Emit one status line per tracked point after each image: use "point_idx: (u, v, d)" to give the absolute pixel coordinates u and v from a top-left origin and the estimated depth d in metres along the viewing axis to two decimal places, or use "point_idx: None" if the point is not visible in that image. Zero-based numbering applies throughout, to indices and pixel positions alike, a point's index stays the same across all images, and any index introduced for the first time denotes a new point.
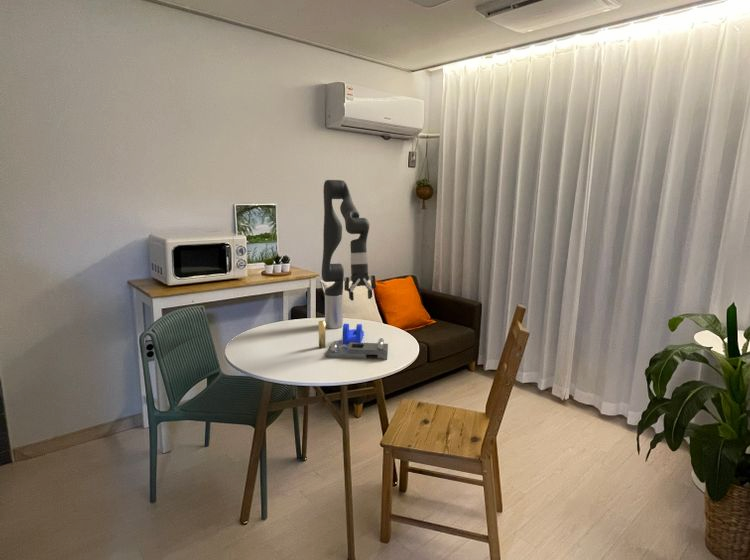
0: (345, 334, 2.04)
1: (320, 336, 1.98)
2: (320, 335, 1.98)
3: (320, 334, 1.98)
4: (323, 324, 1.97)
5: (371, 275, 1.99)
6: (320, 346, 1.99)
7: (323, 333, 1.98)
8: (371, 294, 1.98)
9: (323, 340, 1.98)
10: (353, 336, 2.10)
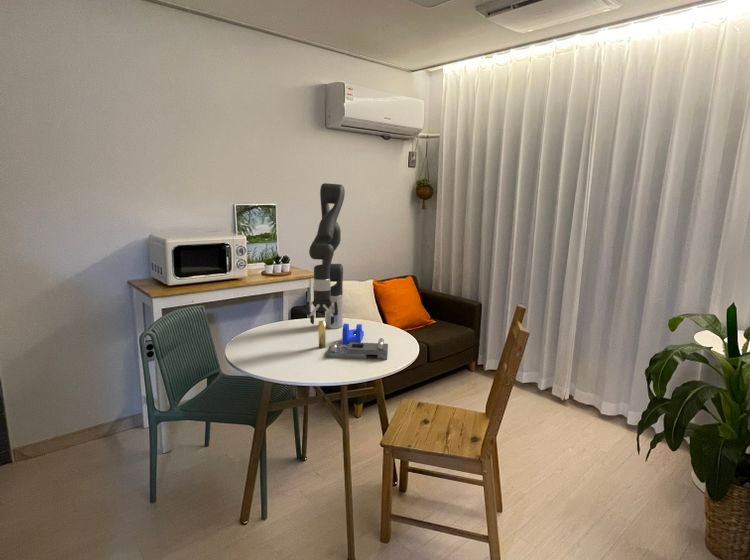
0: (345, 334, 2.04)
1: (320, 336, 1.98)
2: (320, 335, 1.98)
3: (320, 334, 1.98)
4: (323, 324, 1.97)
5: (335, 301, 1.96)
6: (320, 346, 1.99)
7: (323, 333, 1.98)
8: (333, 320, 1.97)
9: (323, 340, 1.98)
10: (353, 336, 2.10)
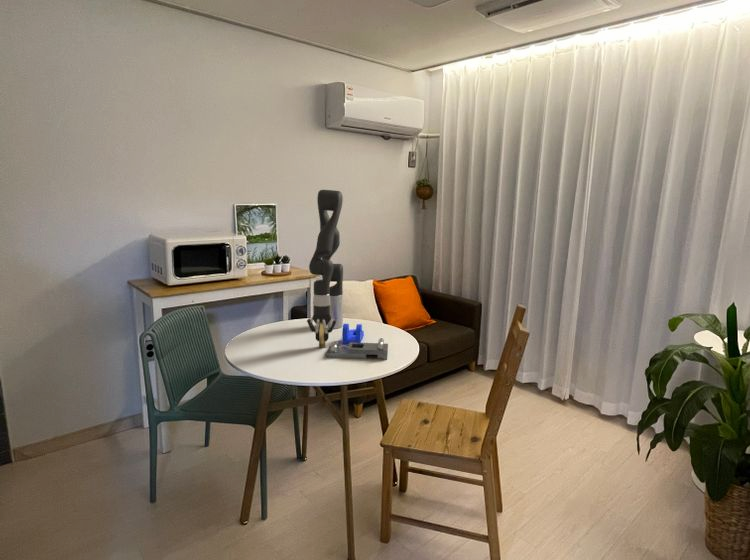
0: (345, 334, 2.03)
1: (320, 336, 1.98)
2: (320, 335, 1.98)
3: (320, 334, 1.98)
4: None
5: (335, 319, 1.98)
6: (320, 346, 1.99)
7: (323, 333, 1.98)
8: (327, 337, 1.98)
9: (323, 340, 1.98)
10: (353, 336, 2.10)
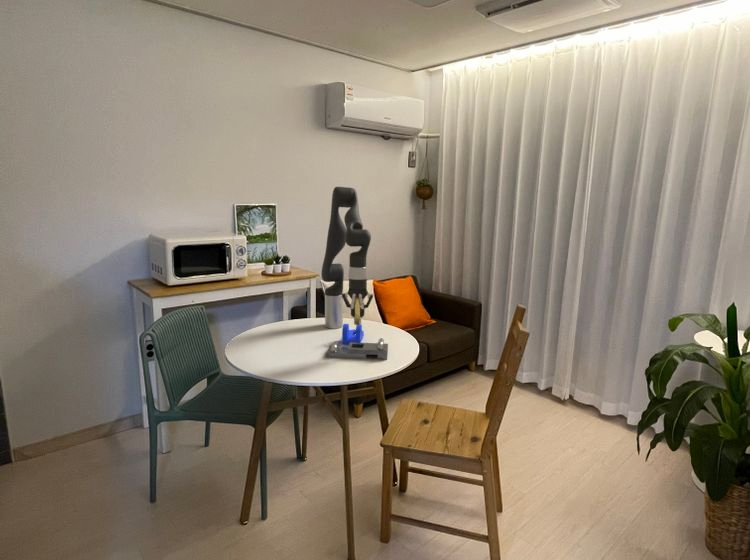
0: (345, 334, 2.03)
1: (356, 311, 1.86)
2: (356, 311, 1.86)
3: (356, 310, 1.86)
4: (359, 299, 1.85)
5: (371, 294, 1.86)
6: (355, 323, 1.87)
7: (359, 309, 1.86)
8: (363, 313, 1.87)
9: (359, 316, 1.87)
10: (353, 336, 2.10)
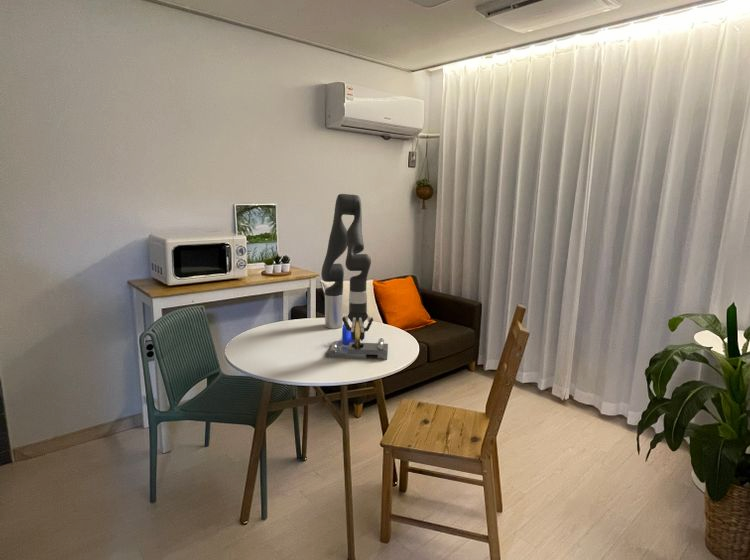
0: (345, 334, 2.03)
1: (356, 335, 1.88)
2: (356, 334, 1.88)
3: (356, 333, 1.88)
4: (359, 322, 1.87)
5: (371, 317, 1.88)
6: (355, 346, 1.89)
7: (359, 332, 1.88)
8: (363, 336, 1.89)
9: (359, 339, 1.88)
10: None
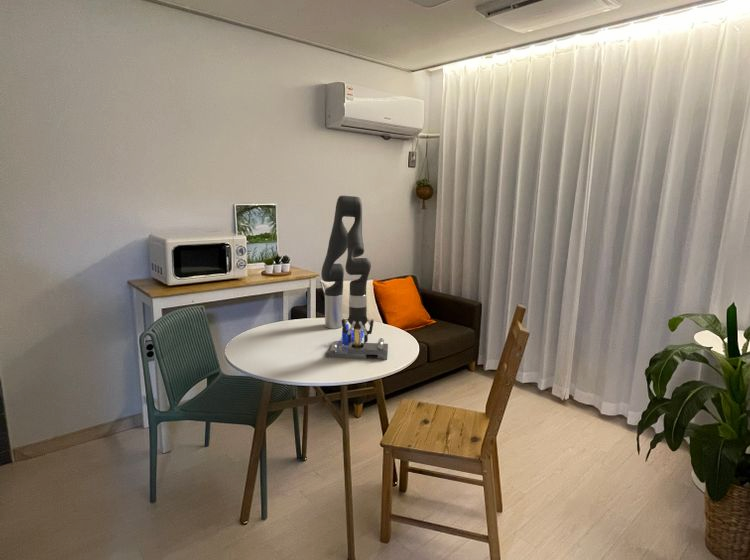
0: (345, 334, 2.03)
1: (356, 343, 1.89)
2: (355, 342, 1.89)
3: (355, 341, 1.89)
4: (358, 330, 1.88)
5: (372, 319, 1.88)
6: None
7: (358, 340, 1.89)
8: (366, 339, 1.89)
9: (359, 347, 1.89)
10: (353, 336, 2.09)
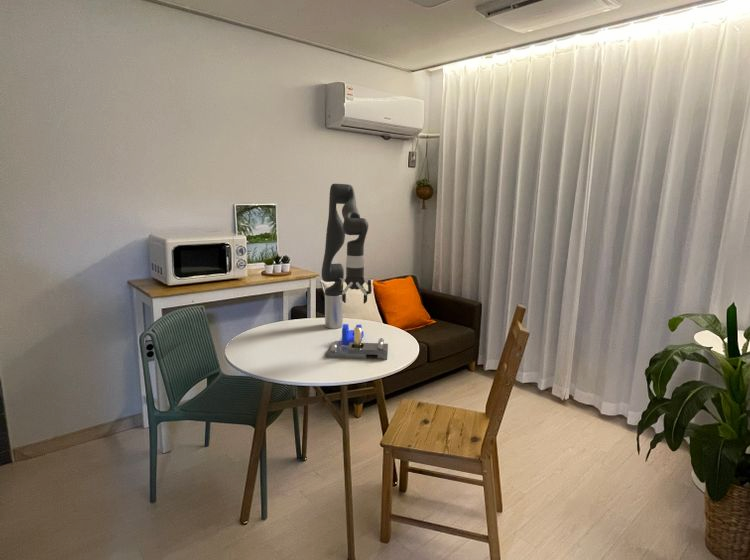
0: (344, 334, 2.03)
1: (356, 343, 1.89)
2: (356, 342, 1.89)
3: (356, 341, 1.89)
4: (359, 331, 1.88)
5: (369, 279, 1.88)
6: None
7: (359, 340, 1.89)
8: (366, 299, 1.88)
9: (359, 347, 1.89)
10: (353, 336, 2.09)
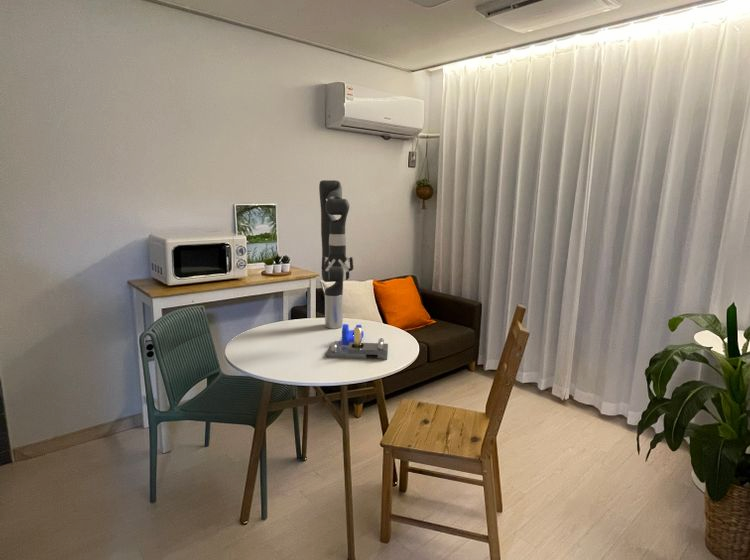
0: (344, 335, 2.03)
1: (356, 343, 1.89)
2: (356, 342, 1.89)
3: (356, 341, 1.89)
4: (359, 331, 1.88)
5: (350, 257, 1.99)
6: None
7: (359, 340, 1.89)
8: (348, 275, 2.00)
9: (359, 347, 1.89)
10: (352, 337, 2.09)
